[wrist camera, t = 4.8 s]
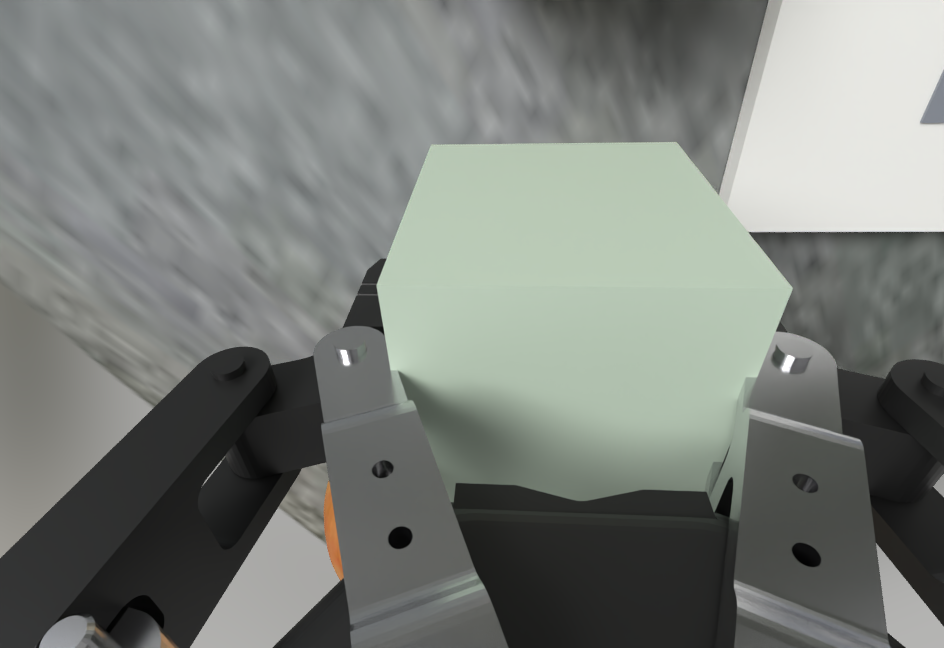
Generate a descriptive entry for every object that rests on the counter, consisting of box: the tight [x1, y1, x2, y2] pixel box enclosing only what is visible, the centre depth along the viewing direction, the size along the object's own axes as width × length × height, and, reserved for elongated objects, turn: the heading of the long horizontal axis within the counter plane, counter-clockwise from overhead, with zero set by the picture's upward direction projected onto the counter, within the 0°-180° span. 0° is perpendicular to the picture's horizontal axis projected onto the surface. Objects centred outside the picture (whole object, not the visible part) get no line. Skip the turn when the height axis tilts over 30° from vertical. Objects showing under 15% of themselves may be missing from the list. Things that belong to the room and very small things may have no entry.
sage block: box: [376, 142, 793, 502], centre depth 11 cm, size 6×6×6 cm
